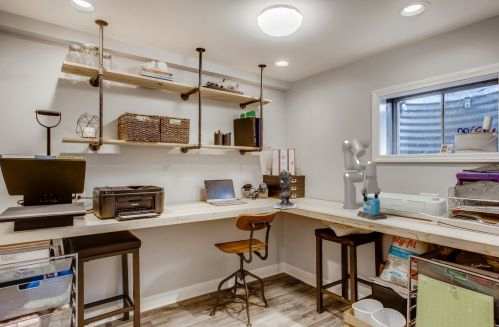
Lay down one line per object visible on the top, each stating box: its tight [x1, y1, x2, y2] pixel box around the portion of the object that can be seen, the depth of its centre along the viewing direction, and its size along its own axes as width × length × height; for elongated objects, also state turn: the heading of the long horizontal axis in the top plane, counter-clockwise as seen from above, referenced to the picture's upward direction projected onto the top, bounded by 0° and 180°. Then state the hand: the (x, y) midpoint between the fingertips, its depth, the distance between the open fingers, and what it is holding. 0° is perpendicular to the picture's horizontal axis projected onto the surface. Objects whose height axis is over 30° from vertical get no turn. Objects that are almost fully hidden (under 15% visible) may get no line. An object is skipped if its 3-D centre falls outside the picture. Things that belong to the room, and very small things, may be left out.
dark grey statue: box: [271, 169, 299, 210], centre depth 266 cm, size 22×25×35 cm
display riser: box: [356, 210, 387, 221], centre depth 212 cm, size 16×12×4 cm
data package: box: [362, 196, 381, 216], centre depth 212 cm, size 12×4×12 cm, turn 21°
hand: (370, 201), depth 213 cm, fingers open, 9 cm apart
